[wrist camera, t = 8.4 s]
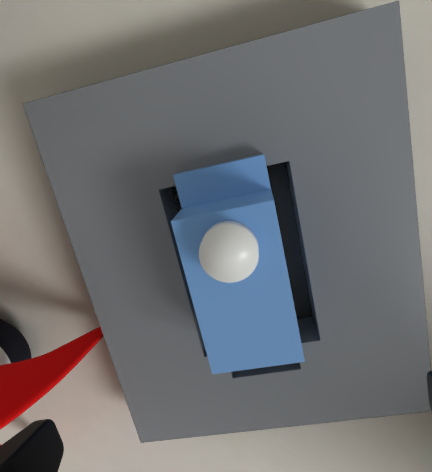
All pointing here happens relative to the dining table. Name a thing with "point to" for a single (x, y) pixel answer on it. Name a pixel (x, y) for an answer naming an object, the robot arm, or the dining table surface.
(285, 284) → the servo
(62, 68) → the dining table surface
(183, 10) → the dining table surface
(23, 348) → the rocket
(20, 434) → the robot arm
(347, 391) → the plate
